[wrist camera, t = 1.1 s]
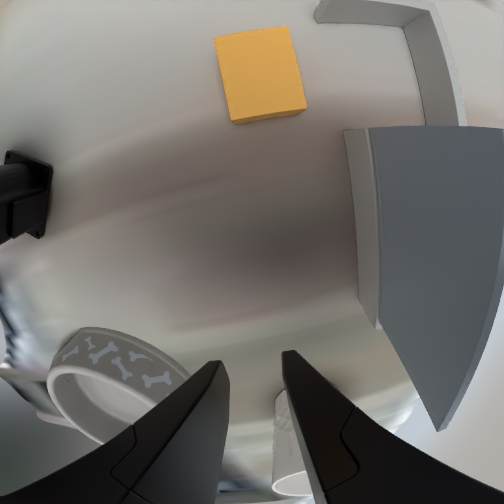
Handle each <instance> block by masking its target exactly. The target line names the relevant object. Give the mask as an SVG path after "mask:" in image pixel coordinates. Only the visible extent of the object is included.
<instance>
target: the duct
mask: <svg viewBox="0 0 504 504" xmlns="http://www.w3.org/2000/svg"><path fill="white" fill-rule="evenodd" d="M314 16H315V19H316V22H317V23H361V24H376V25H387V26H396V27H403V30H404V33H405V36H406V39H407V42H408V45H409V49H410V52H411V56H412V59H413V63H414V67H415V71H416V75H417V79H418V83H419V88H420V93H421V97H422V103H423V108H424V114H425V120H426V126H467V119H466V112H465V106H464V100H463V95H462V90H461V85H460V81H459V77H458V72H457V68H456V65H455V61H454V57H453V54H452V50H451V47H450V44H449V41H448V38H447V35H446V32H445V29H444V26H443V24H442V21H441V18H440V16H439V13H438V11H437V8H436V6H435V3H431V2H428V1H423V0H321V1H320V3H319V5H318V7H317V9H316V11H315V13H314ZM343 133H344V139H345V145H346V151H347V158H348V165H349V172H350V180H351V188H352V197H353V206H354V216H355V228H356V242H357V259H358V287H359V301H360V303H361V305H362V307H363V308H364V310H365V312H366V314H367V316H368V317H369V319H370V321H371V323H372V325H373V326H374V328H375V330H378V329H382V328H383V327H382V326H381V324H379V315H380V291H381V245H380V221H379V205H378V193H377V182H376V173H375V164H374V156H373V149H372V142H371V136H370V130H369V129H357V130H346V131H343Z"/></svg>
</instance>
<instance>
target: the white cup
mask: <svg viewBox="0 0 504 504" xmlns="http://www.w3.org/2000/svg"><path fill="white" fill-rule="evenodd" d="M333 386H334V385H333ZM334 387H335V386H334ZM335 388H336V387H335ZM272 489H273V490H274V491H275V492H277V493H280V494H283V495H290V496H309V495H313V493H312V490H311V486H310V483H309V479H308V476H307V472H306V468H305V465H304V461H303V458H302V454H301V451H300V447H299V444H298V440H297V437H296V433H295V430H294V426H293V422H292V418H291V414H290V409H289V405H288V400H287V395H286V390H283V391H282V392H281V393H280V394H279V396H278V397H277V398H276V400H275V422H274V432H273V466H272Z"/></svg>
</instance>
